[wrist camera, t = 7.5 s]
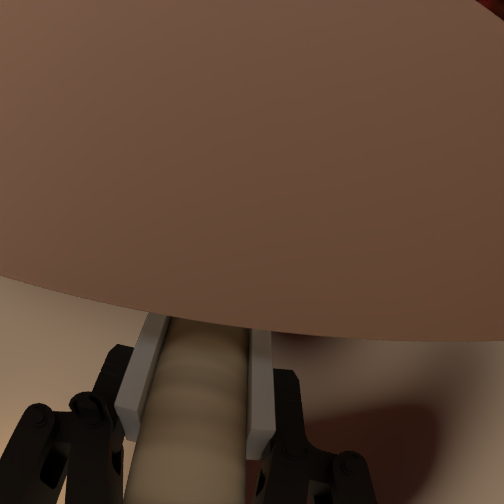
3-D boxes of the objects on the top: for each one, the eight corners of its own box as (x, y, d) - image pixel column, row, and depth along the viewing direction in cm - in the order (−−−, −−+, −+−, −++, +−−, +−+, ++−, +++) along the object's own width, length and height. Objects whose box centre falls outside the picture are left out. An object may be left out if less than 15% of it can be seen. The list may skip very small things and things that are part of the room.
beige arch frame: (106, 42, 14) (-96, 33, 1) (407, 90, 15) (610, 142, 3) (96, 138, 17) (-87, 244, 5) (383, 182, 19) (530, 339, 6)
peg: (190, 240, 17) (106, 510, 5) (255, 250, 17) (254, 534, 5) (186, 292, 19) (130, 527, 6) (244, 301, 19) (235, 543, 7)
